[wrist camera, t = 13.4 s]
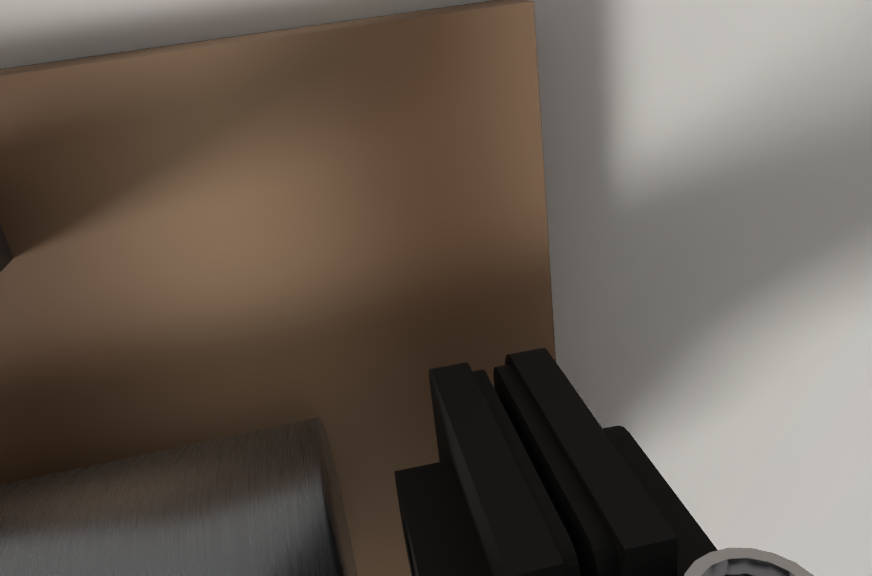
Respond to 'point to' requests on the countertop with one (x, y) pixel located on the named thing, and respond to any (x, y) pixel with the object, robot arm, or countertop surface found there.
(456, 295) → the board
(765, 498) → the countertop surface
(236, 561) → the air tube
